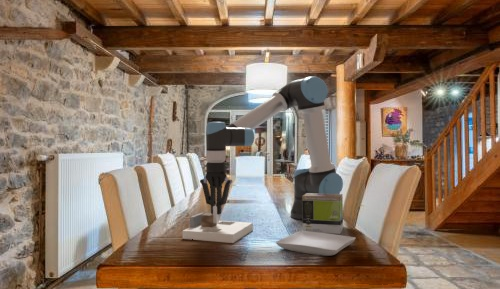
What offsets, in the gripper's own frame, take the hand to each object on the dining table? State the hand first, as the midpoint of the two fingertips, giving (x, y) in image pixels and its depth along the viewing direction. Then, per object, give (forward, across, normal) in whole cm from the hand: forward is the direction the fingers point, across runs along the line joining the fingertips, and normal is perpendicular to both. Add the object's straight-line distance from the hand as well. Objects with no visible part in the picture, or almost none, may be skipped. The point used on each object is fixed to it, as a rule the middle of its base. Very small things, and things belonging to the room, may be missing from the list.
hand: (216, 222), depth 158 cm
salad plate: (+5, -40, +8) cm, 41 cm away
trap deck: (+5, -1, 0) cm, 5 cm away
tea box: (+5, -38, -19) cm, 43 cm away
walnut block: (+2, +3, 0) cm, 3 cm away
